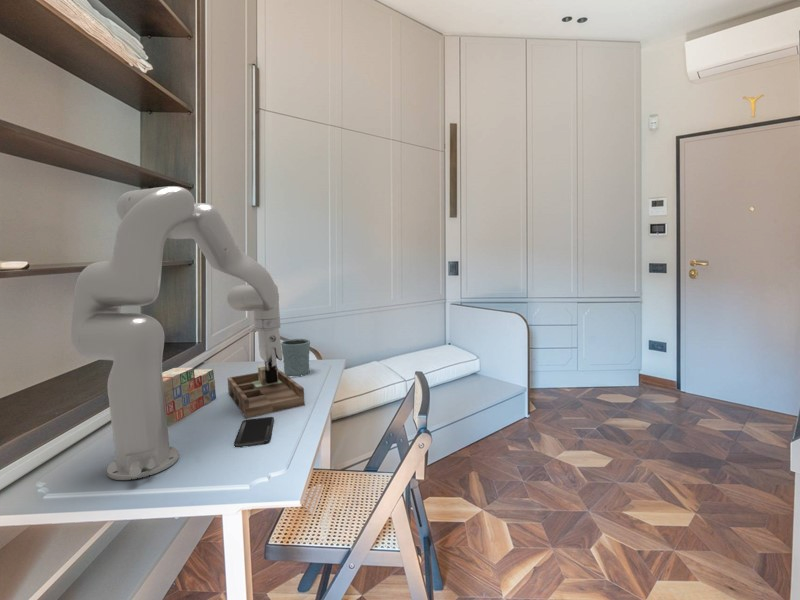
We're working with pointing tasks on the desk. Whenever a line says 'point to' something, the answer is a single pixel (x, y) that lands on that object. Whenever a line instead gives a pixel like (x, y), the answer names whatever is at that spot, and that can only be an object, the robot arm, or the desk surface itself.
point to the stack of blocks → (187, 391)
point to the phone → (254, 432)
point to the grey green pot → (296, 356)
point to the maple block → (262, 375)
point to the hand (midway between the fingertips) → (271, 382)
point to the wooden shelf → (264, 394)
